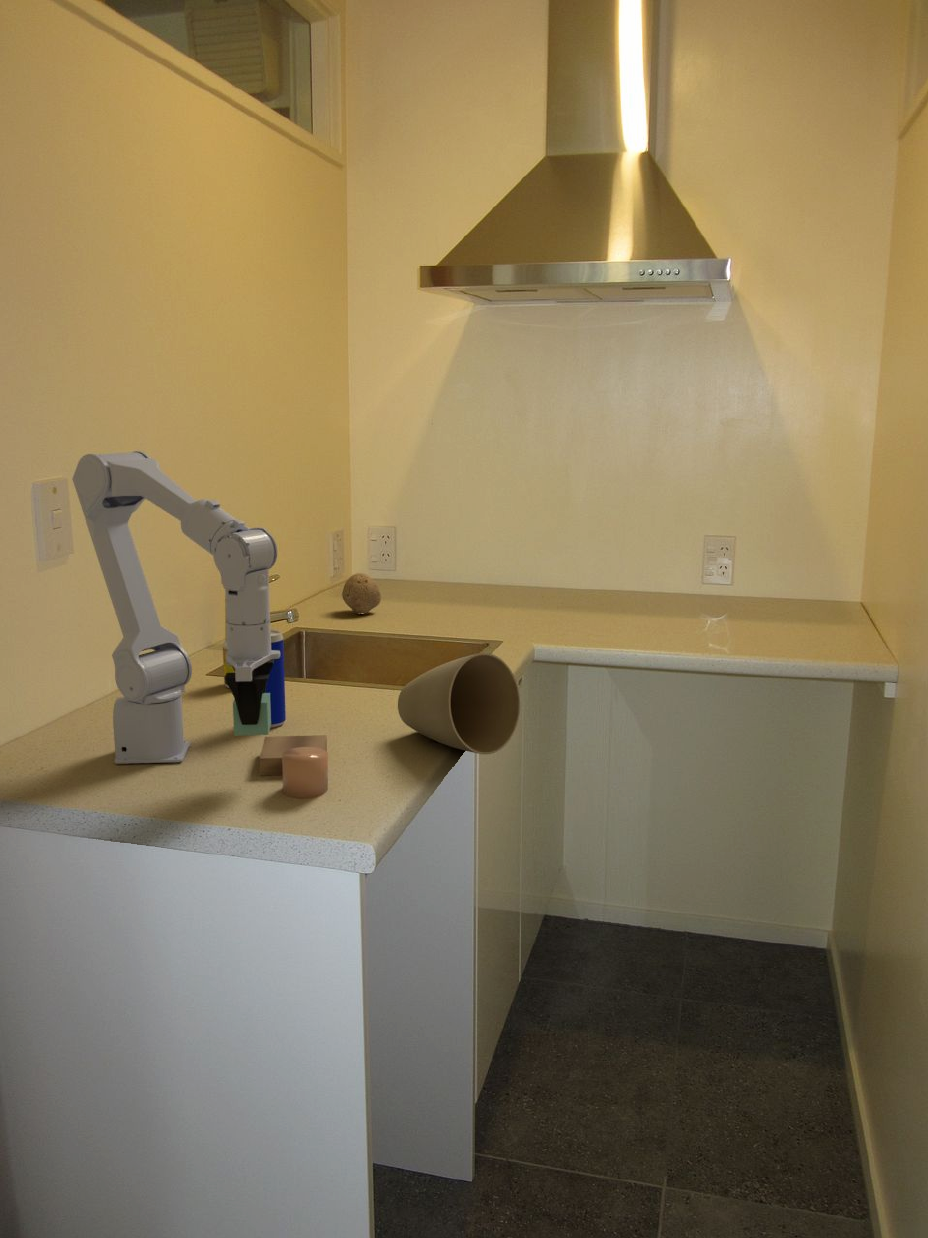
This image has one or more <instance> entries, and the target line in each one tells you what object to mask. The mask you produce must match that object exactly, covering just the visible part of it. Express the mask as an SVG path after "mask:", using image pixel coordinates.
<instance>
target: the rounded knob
mask: <svg viewBox="0 0 928 1238" xmlns="http://www.w3.org/2000/svg"><path fill="white" fill-rule="evenodd" d="M328 754H329V753H328V751H327V752H326V751H325V750H323V749H321V748H316V747H297V748H293V749H289V750H287V751H285V752H284V753H283V754H282V767H283V775H282V793H283V794H285V795H286V796H288V797H291V798H296V799H310V798H311V799H312V798H316V797H321V796H322V795H324V794H326V793H327V791H328V789H329V768H328V767H329V761H328V760H329V759H328V757H329V756H328Z"/></svg>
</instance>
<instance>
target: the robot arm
mask: <svg viewBox="0 0 928 1238" xmlns="http://www.w3.org/2000/svg"><path fill="white" fill-rule="evenodd" d="M160 467H161V466H160V464H159V461H158V460H156V459H155V458H152V457H150V455H148V453H146V452H144V451H141V450H135V451H132V452H119V453H116V452H115V453H103V454H102V453H101V454H97V453H87V454H85V455H83V456H81V457H80V459H79V460H78V463H77V464H76V467H75V470H74V473H73V476H72V482H73V485H74V489H75V491H76V495H77V497H78V501H79V503H80V507H81V510H82V513H83V515H84V519H85V523H86V526H87V529H88V533H89V536H90V539H91V541H92V545H93V548H94V551H95V553H96V557H97V560H98V563H99V566H100V569H101V572H102V575H103V579H104V582H105V585H106V588H107V591H108V595H109V596H110V597H109V598H110V599H111V600H110V601H111V603H112V606H113V608H114V612H115V616H116V618H117V621H118V625H119V627H120V630H121V633H122V636H123V637H122V639H121V640H120V642H119V643H118V645H117V646H116V648H115V649H114V650H113V652H112V654H111V657H112V659H113V664H114V679H115V680H114V681H115V684H116V686H117V688H118V690H119V692H120V694H121V695H122V696H119V697H117V698H116V699H115V702H114V705H113V711H112V712H113V713H112V725H113V727H112V728H113V736H114V737H113V739H114V752H115V753H114V754H115V755H114V756H115V758H114V763H115V764H116V765H117V764H118V765H119V764H121V765H123V764H125V765H126V764H128V765H129V764H154V763H155V764H157V763H158V764H159V763H181V762H183V761H184V759H185V757H186V755H187V753H188V750H189V748H190V745H191V741H190V740H184V739H185V737H184V722H183V703H182V701H183V700H182V694H183V693H185V692H186V688H185V686H186V685H187V684H188V683H189V682H190V680H191V678H192V674H193V666H192V665H193V663H192V661H191V659H190V656H189V654H188V653H187V652H186V650H185V649H184V648H183V646H182V644H181V642H180V639H179V636H178V635H177V634H176V633H174V632H172V631H170V630H169V629H167V628H165V627H164V626H162V625H161V622H160V618H159V615H158V613H157V609H156V606H155V603H154V601H153V597H152V594H151V591H150V588H149V584H148V582H147V578H146V575H145V573H144V570H143V566H142V564H141V560H140V558H139V553H138V550H137V548H136V544H135V542H134V539H133V536H132V532H131V529H130V527H129V520H130V519H131V516H132V514H133V513H135V512H136V511H138V508H139V507H140V506H141V505H142V504H143V503H144V501H146V500H147V501H149V502H150V503H151V504H153V505H154V506H156V507H158V508H159V509H160V510H163V511H164V512H166V513H168V514H169V515H171V516H172V517H174V518H175V519H177V520H178V521H180V529H181V531H182V534H183V535H184V536H186V537H188V538H189V540H191V541H193V542H194V543H195V544H197V545H198V546H200V547H201V548H202V549H203V550H205V551H206V552H208V553H209V554H210V555H212V556H213V561H214V564H215V567H216V569H217V571H218V572H219V574H220V578H221V579H220V580H221V582H220V583H221V585H222V588H223V589H224V590H225V591H224V593H225V595H224V598H225V616H226V617H225V619H226V632H227V633H226V635H227V638H226V641H227V645H228V652H227V653H226V658H227V660H228V662H229V663H230V664H231V665H232V667H233V669H234V671H235V673H226V675H225V681H226V684H227V685H228V687H229V688H228V687H227V688H228V689H230V691H231V694H232V695H233V698H234V699H235V702H236V705H237V709H238V713H239V717H240V720H241V723H242V725H257V724H258V720H259V716H260V709H261V700H262V694H263V693H265V690H266V684H267V680H268V678H269V673H270V670H271V668H272V666H273V664H274V659H278V658H280V651H279V650H271V630H272V629H271V607H270V603H271V602H270V575H269V572H270V571H269V570H270V569H272V568H273V567H274V565H275V563H276V562H277V558H278V546H277V543H276V540H275V538H274V537H273V535H272V534H270V533H269V532H268V530H267V529H266V528H264V527H261V526H260V527H258V526H257V527H252V528H251V527H250V526H247V525H246V524H245V522H244V521H243V520H241V519H237V518H236V517H234V516H232V515H231V514H230V513H228V512H227V511H225V509H223V508H221V507H220V506H221V503H220V502H219V501H217V500H216V499H207V498H206V499H205V498H204V499H203V498H202V499H199V500H196V499H195V498H194V497H193V496H192V495H191V494H189V493H188V492H187V491H185V490H184V489H183V488H182V487H181V486H180V485H179V484H177V483H176V482H175V481H174V480H172V479H171V478H170V477H169V476H168V475H167V474H166V473H164V472H163V471H162V470H161V468H160ZM147 650H152V651H149V652H146V653H141V652H144V651H147ZM140 653H141V654H140Z"/></svg>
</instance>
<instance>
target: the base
mask: <svg viewBox="0 0 928 1238" xmlns="http://www.w3.org/2000/svg"><path fill="white" fill-rule="evenodd" d="M327 737H328V735H325V734H319V735H318V734H317V735H289V736H288V735H284V736H283V735H282V736H281V735H279V736H265V737H264V739H263V744H262V749H261V751H260V755H259V776H280V775H281V776H283V767H282V754H283V753H284V752H285V751H287V750H289V749H293V748H297V747H316V748H321V749H323V750H325V751H326V752H327V753H328V738H327Z"/></svg>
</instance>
